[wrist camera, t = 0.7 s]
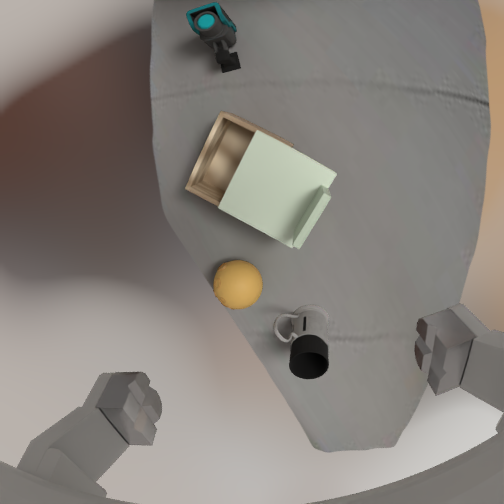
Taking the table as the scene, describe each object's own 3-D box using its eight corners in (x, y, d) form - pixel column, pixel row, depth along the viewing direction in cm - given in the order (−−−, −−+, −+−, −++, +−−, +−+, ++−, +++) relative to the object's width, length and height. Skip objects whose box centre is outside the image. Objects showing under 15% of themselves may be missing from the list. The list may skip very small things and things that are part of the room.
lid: (257, 130, 45) (249, 129, 38) (336, 172, 46) (341, 180, 39) (219, 206, 51) (205, 218, 45) (292, 246, 52) (289, 264, 45)
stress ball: (264, 255, 64) (227, 245, 57) (278, 297, 58) (239, 291, 52) (235, 279, 69) (199, 272, 62) (246, 318, 64) (208, 315, 57)
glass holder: (308, 341, 69) (306, 387, 56) (266, 304, 67) (255, 348, 53) (336, 321, 66) (341, 366, 52) (294, 281, 64) (290, 323, 50)
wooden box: (232, 113, 52) (220, 111, 45) (293, 144, 53) (292, 146, 46) (199, 181, 59) (184, 188, 51) (257, 211, 59) (250, 223, 52)
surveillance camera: (195, 61, 39) (185, 12, 35) (217, 74, 50) (207, 31, 46) (230, 51, 37) (218, 1, 34) (246, 66, 48) (235, 23, 45)
